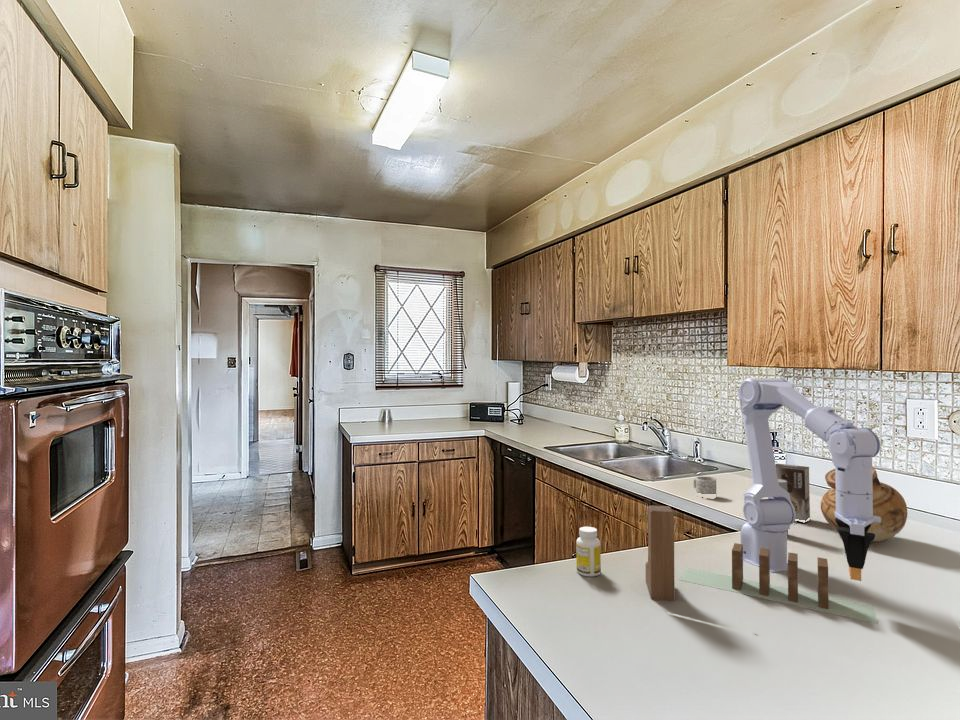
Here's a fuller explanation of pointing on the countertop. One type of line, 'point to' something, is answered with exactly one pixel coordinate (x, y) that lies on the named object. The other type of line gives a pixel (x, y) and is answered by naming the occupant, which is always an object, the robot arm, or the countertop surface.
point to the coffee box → (796, 487)
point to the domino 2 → (764, 571)
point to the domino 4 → (823, 583)
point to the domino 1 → (737, 566)
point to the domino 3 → (793, 577)
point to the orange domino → (855, 573)
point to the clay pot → (884, 505)
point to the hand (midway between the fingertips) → (854, 562)
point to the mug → (705, 485)
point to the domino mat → (781, 595)
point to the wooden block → (660, 553)
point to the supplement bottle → (588, 552)
